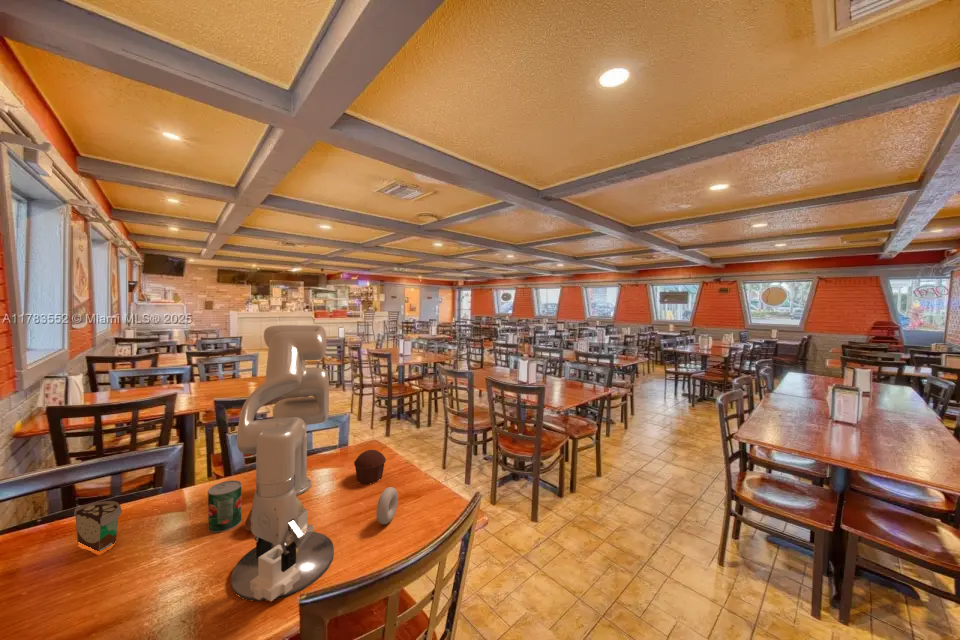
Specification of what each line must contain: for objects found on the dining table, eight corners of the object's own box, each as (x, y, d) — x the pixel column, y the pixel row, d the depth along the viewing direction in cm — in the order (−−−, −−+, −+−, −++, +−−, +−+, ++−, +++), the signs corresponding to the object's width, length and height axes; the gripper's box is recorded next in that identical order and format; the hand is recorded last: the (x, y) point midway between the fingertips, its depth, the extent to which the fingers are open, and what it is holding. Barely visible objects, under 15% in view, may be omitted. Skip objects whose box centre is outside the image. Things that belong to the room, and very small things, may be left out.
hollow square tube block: (243, 591, 77) (243, 560, 77) (280, 565, 85) (281, 536, 85) (269, 606, 73) (269, 574, 73) (306, 577, 81) (306, 548, 81)
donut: (384, 532, 100) (385, 498, 99) (373, 531, 100) (374, 496, 100) (399, 512, 110) (400, 481, 109) (389, 511, 110) (389, 480, 110)
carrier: (209, 580, 81) (209, 542, 81) (294, 527, 101) (294, 496, 101) (272, 616, 72) (272, 574, 72) (352, 550, 92) (352, 517, 92)
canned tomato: (247, 520, 104) (247, 484, 104) (218, 536, 97) (218, 497, 96) (231, 513, 107) (231, 478, 107) (202, 527, 100) (201, 490, 100)
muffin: (379, 487, 125) (380, 459, 125) (348, 486, 125) (349, 458, 125) (389, 471, 137) (389, 446, 136) (360, 470, 137) (361, 445, 137)
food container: (133, 542, 94) (133, 505, 93) (102, 557, 88) (101, 518, 87) (105, 531, 98) (105, 496, 97) (74, 545, 92) (73, 508, 92)
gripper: (234, 483, 79) (234, 559, 79) (287, 502, 71) (287, 586, 72) (266, 469, 85) (266, 540, 86) (318, 486, 78) (317, 563, 79)
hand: (276, 560), depth 79 cm, fingers open, 7 cm apart
